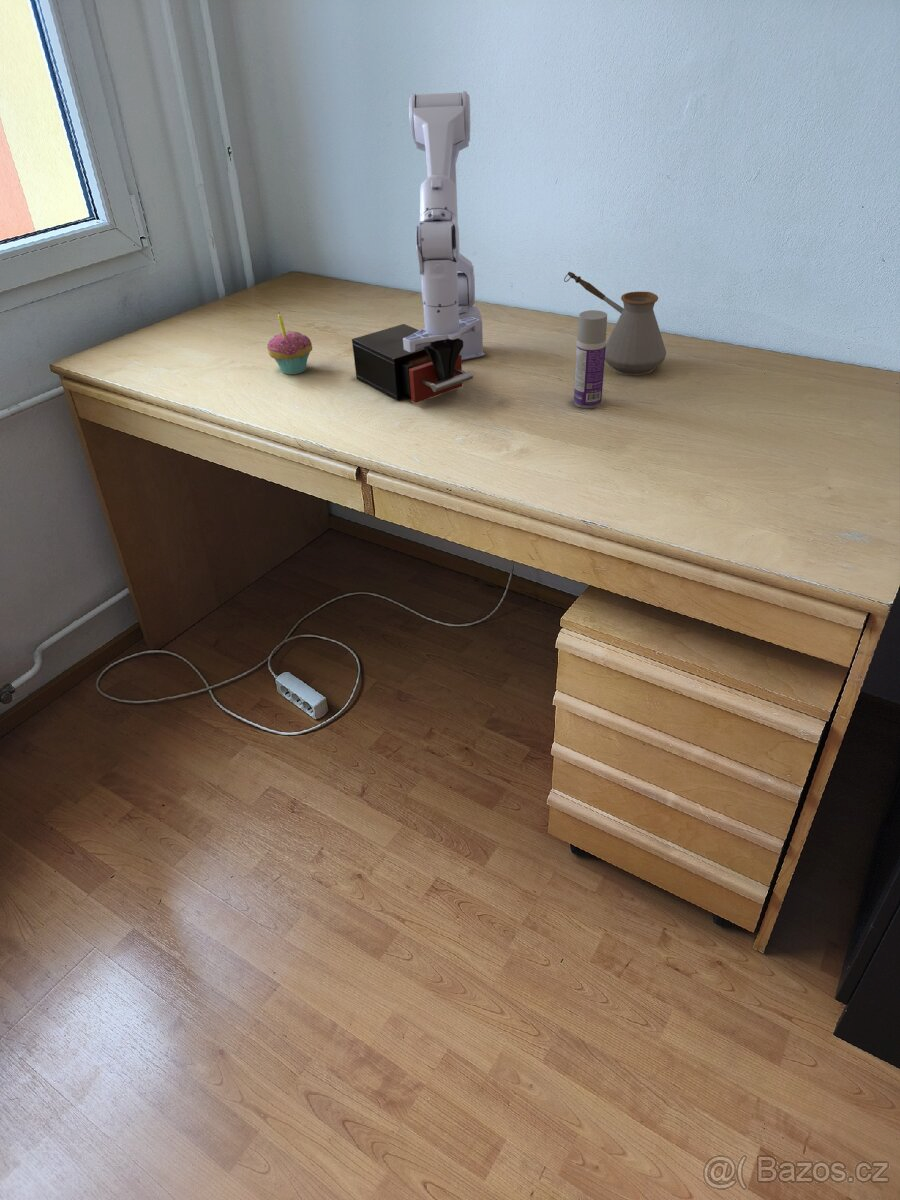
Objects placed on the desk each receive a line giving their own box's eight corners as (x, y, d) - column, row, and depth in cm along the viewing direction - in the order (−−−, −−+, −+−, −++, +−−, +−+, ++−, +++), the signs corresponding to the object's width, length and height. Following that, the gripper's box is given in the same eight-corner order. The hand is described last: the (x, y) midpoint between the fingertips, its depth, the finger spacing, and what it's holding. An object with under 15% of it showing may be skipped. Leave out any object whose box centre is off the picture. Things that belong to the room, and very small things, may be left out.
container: (603, 398, 138) (610, 310, 129) (598, 409, 134) (605, 320, 125) (576, 396, 139) (581, 309, 130) (571, 407, 136) (575, 318, 126)
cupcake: (306, 379, 151) (296, 315, 143) (264, 377, 152) (252, 314, 145) (321, 362, 157) (312, 300, 150) (280, 360, 159) (269, 299, 151)
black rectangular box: (449, 382, 146) (447, 342, 142) (397, 400, 141) (393, 359, 136) (406, 362, 155) (403, 323, 150) (356, 379, 150) (351, 339, 145)
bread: (427, 371, 146) (425, 348, 143) (441, 378, 143) (440, 354, 140) (398, 381, 143) (396, 357, 140) (412, 388, 140) (410, 364, 137)
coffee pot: (675, 364, 148) (686, 281, 139) (644, 384, 142) (653, 298, 132) (579, 341, 160) (583, 263, 151) (545, 359, 153) (548, 278, 144)
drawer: (479, 394, 139) (478, 362, 136) (431, 411, 134) (429, 378, 131) (421, 367, 150) (419, 336, 147) (375, 382, 146) (372, 351, 142)
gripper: (418, 318, 123) (424, 401, 131) (491, 296, 129) (492, 377, 138) (393, 307, 127) (400, 388, 136) (464, 287, 134) (466, 365, 142)
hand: (444, 382), depth 137 cm, fingers closed, pressing on drawer
